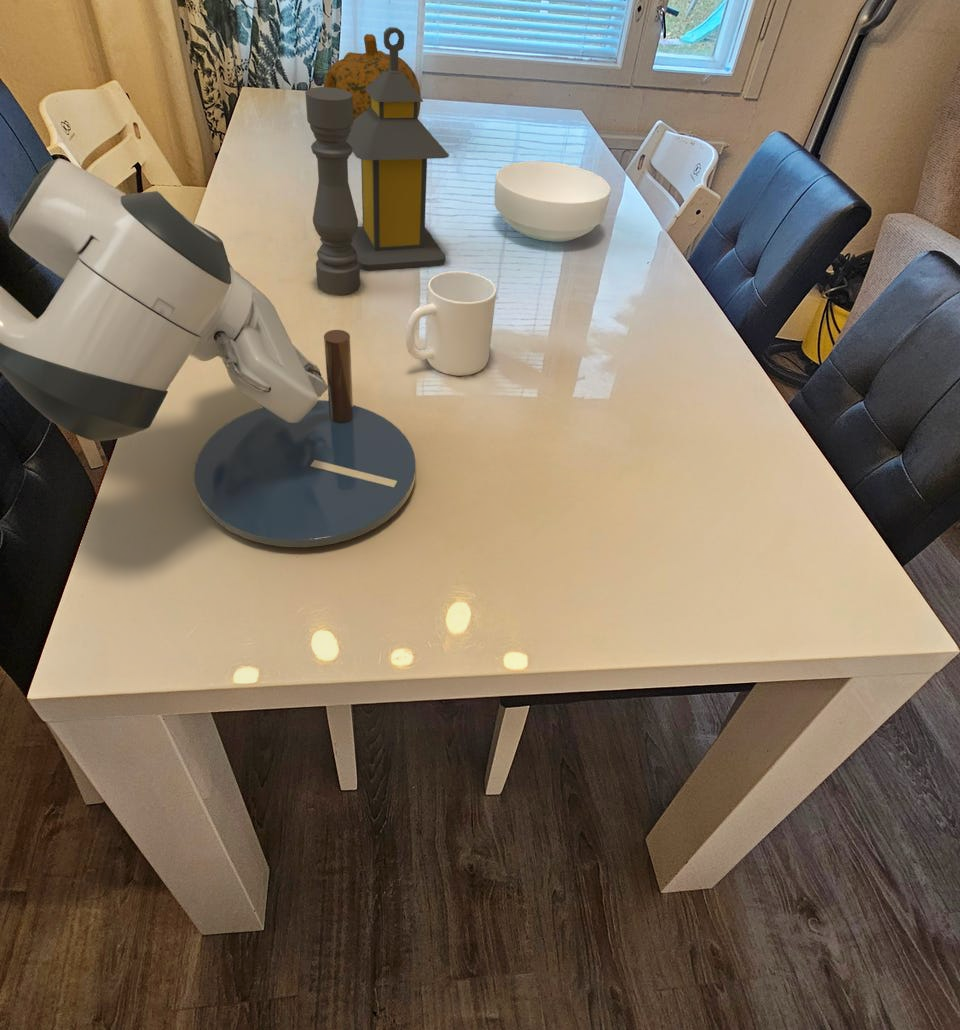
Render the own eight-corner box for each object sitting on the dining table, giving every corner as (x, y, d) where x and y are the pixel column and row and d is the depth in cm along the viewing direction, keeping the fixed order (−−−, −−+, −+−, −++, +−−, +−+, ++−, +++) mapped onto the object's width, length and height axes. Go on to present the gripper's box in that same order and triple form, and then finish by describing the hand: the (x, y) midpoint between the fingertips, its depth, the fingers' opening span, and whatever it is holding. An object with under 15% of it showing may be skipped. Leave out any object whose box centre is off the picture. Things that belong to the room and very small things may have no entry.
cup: (500, 366, 92) (510, 293, 85) (423, 392, 86) (426, 316, 79) (464, 337, 96) (469, 266, 89) (388, 359, 91) (388, 285, 84)
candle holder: (318, 274, 105) (304, 84, 88) (360, 276, 106) (354, 88, 89) (316, 294, 101) (301, 98, 84) (359, 295, 102) (354, 102, 85)
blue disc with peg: (149, 512, 66) (118, 418, 59) (262, 389, 82) (249, 302, 74) (368, 572, 63) (365, 481, 56) (442, 433, 79) (448, 347, 71)
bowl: (583, 264, 116) (593, 213, 111) (474, 236, 120) (478, 185, 115) (612, 224, 130) (622, 176, 124) (512, 200, 134) (518, 153, 128)
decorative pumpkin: (432, 129, 158) (430, 23, 143) (408, 167, 145) (403, 55, 130) (346, 119, 161) (335, 14, 146) (314, 156, 147) (299, 44, 132)
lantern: (447, 264, 112) (460, 42, 91) (360, 271, 108) (353, 39, 87) (422, 228, 121) (429, 18, 100) (340, 233, 117) (330, 15, 96)
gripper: (252, 342, 58) (369, 417, 68) (209, 239, 71) (313, 316, 81) (205, 396, 59) (326, 462, 70) (172, 286, 72) (278, 355, 82)
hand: (319, 382), depth 75 cm, fingers closed
